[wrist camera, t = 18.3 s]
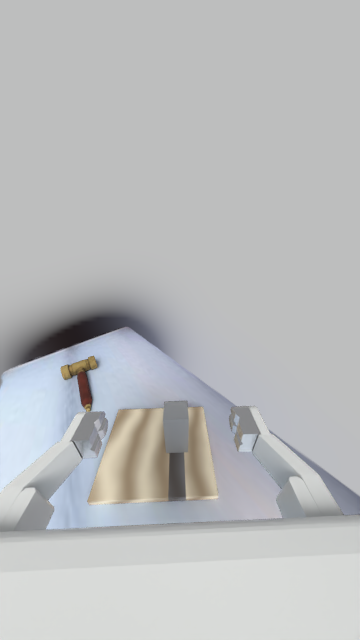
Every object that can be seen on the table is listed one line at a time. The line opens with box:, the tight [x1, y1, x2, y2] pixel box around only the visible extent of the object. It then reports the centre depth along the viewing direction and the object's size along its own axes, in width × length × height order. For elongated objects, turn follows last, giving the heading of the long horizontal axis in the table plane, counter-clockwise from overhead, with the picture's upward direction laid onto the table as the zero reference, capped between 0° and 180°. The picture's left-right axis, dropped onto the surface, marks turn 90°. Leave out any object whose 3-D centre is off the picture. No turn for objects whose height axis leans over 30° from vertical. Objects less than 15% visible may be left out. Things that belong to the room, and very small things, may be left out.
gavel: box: [61, 356, 97, 412], centre depth 48 cm, size 21×5×10 cm
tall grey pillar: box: [163, 401, 189, 453], centre depth 31 cm, size 4×4×11 cm
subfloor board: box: [87, 407, 218, 505], centre depth 34 cm, size 22×16×2 cm
